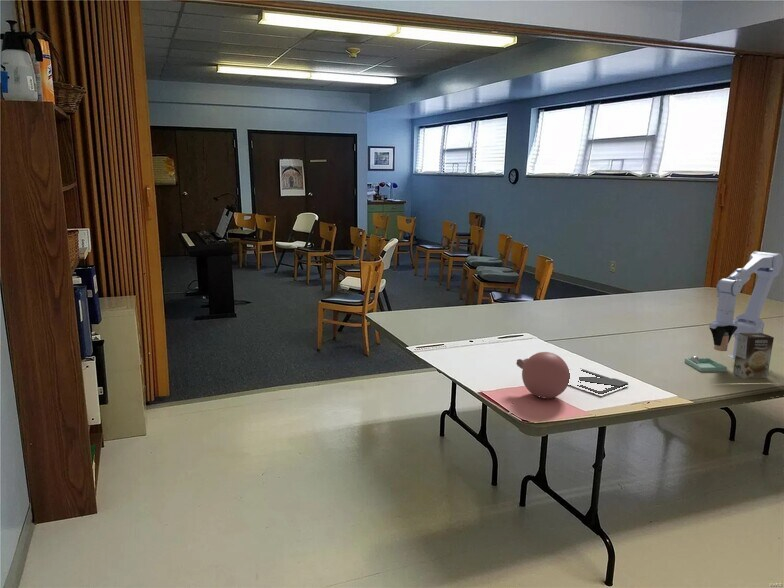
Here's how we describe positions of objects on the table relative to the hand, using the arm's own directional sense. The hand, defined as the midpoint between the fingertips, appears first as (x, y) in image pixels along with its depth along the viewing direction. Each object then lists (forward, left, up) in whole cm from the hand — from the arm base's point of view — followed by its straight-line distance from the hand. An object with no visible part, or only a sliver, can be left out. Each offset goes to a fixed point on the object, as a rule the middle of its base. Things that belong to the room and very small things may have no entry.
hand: (721, 344), depth 212 cm
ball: (+8, -2, -9) cm, 12 cm away
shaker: (0, 0, -2) cm, 2 cm away
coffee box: (-5, +11, -9) cm, 15 cm away
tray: (+6, +1, -9) cm, 11 cm away
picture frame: (+57, +15, -10) cm, 60 cm away
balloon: (+78, +25, -9) cm, 82 cm away
